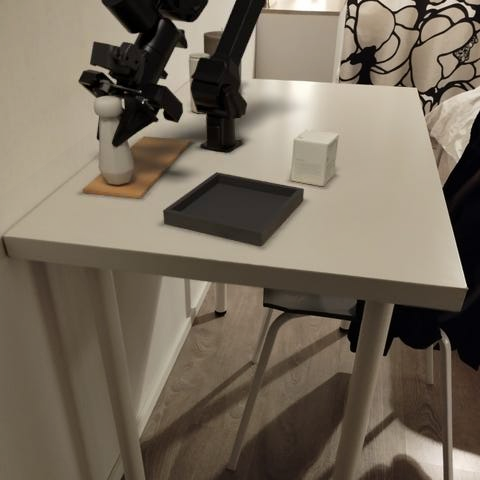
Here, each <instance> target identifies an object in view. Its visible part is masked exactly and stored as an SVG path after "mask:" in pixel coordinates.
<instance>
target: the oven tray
mask: <svg viewBox="0 0 480 480" xmlns="http://www.w3.org/2000/svg"><path fill="white" fill-rule="evenodd" d="M304 193H305V188H302V187H297V186H292V185H286V184H281V183H275V182H271V181H266V180H260V179H256V178H249V177H245V176H244V177H243V176H238V175H234V174H229V173H228V174H227V173H223V172H217V171H216V172H215V173H213V174H212V175H210V176H209V177H208V178H206V179H205V180H203V181H202V182H201V183H199V184H198V185H197V186H195V187H194V188H192V189H191V190H190V191H188V192H187V193H185V194H184V195H183V196H181V197H180V198H178V199H177V200H176V201H174V202H173V203H172V204H170V205H168V206H167V207H166V208H165V209H163V210H162V213H163V215H162V216H163V224H164V225H168V226H171V227H172V226H173V227H177V228H180V229H185V230H190V231H193V232H199V233H203V234H207V235H211V236H215V237H219V238H223V239H228V240H232V241H237V242H241V243H246V244H248V245H253V246H258V247H262V246H263V245H264V244H265V243H266V242H267V241H268V240H269V239H270V238H271V236H273V235H274V234H275V232H276V231H277V230H278V229H279V228H280V227H281V226H282V224H283V223H284V222H286V220H287V219H288V218H289V217H290V216H291V215H292V214H293V213H294V212H295V210H297V208H298V207H299V206H300V205H301V204H302V203H303V202H304V196H305V195H304Z"/></svg>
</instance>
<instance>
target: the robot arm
mask: <svg viewBox="0 0 480 480" xmlns="http://www.w3.org/2000/svg"><path fill="white" fill-rule="evenodd" d="M100 1H101V3H102V5H103V6H104V7H105V9H107V10H108V11H109V13H110V14H111V15H112V16H113V17H114V19H115V20H117V22H118V23H119V24H120V25H121V26H122V27H123V29H124V30H125V31H126V32H127V33H129V34H131V35H137V37H136V39H135V40H134V42H133V43H132V42H128V41H127V42H126V41H123V42H121V44H120V45H114V44H110V43H106V42H101V41H100V42H99V41H93V43H92V49H91V55H90V59H89V65H90V66H92V67H99V68H102V69H105V70H107V71H108V72H107V74H108V75H106V73H104V72H103V71H99V70H94V69H91V68H90V69H86V70H83V71H82V72H81V75H80V77H79V79H78V84H79V85H81V86H82V87H83V89H85V90H86V91H88V93H90V94H91V95H92V96H93V97H94V98H95V99H97V98H99V97H102V96H115V97H118V98H119V99H120V100H121V102H122V103H123V105H124V106H122V108H123V110H122V113H121V114H120V117H121V120H120V122H119V124H118V127H117V129H116V131H115V134H114V137H113V140H112V145H114V146H115V147H118V146H120V145H121V144H122V143H124V142H125V141H126V140H127V141H128V140H129V139H131V138H132V137H133V136H135V135H136V134H138V133H139V132H141V131H142V130H144V129H146V128H147V127H148V126H150V125H152V124H153V123H158V122H159V120H160V119H159V117H157V116H158V114H159V113H160V110H163V111H162V115H163V118H164V120H166V121H168V122H172V123H175V124H178V123H179V122H180V119H181V118H182V115H184V114H183V113H184V106H183V102H182V101H181V100H180V99H179V98H178V97H177V96H176V95H175V94H174V93H173V92H172V90H171V89H169V87H168V86H167V85H163V84H159V81H160V80H165V81H166V80H167V77H168V76H169V73H168V72H167V71H166V67H167V65H168V63H169V61H170V59H171V56H172V55H173V53H174V51H175V49H176V48H178V49H184V50H187V49H188V48H189V47H188V46H189V45H188V40H187V38H186V37H187V36H186V31H185V29H183V28H178V27H177V26H176V24H175V23H174V22H173V21H175V22H181V23H182V22H183V23H194V22H195V21H197V20H198V19H199V17H200V16H201V14H202V13H203V11H204V10H205V8H206V7H207V6H208V4H209V0H100ZM265 3H266V0H235V2H234V4H233V7H232V8H231V11H230V14H229V16H228V18H227V21H226V24H225V26H224V29H223V33H222V36H221V38H220V41H219V43H218V46H217V48H216V51H215V53H214V54H213V55H212V56H211V57H210V58H203V57H201V58H200V59H199V61H198V63H197V67H196V70H195V72H194V74H193V75H192V76H191V78H192V79H193V80H192V83H191V88H190V87H189V88H190V89H189V91H190V90H191V93H192V97H193V100H194V103H195V107H196V110H197V112H202V113H201V114H205V132H206V134H205V135H206V140H205V141H203V142H202V143H201V144H200V145H199V147H200V148H202V149H208V150H212V151H218V152H226V153H230V152H231V151H233V150H234V149H235V148H237V147H238V146H240V145H242V144H243V140H242V139H237V131H236V130H237V120H238V119H242V117H243V116H246V112H247V108H248V102H247V101H246V99H245V98H244V97H243V95H242V94H241V93H239V87H240V84H241V85H242V81H241V82H240V74H239V64H240V62H241V63H242V61H241V59H242V60H243V58H244V55H245V52H246V50H247V48H248V44H249V42H250V40H251V38H252V35H253V32H254V30H255V28H256V25H257V23H258V20H259V17H260V15H261V13H262V10H263V8H264V5H265ZM109 76H110V78H109ZM111 79H113V80H115V81H116V82H114V81H113V80H111ZM97 121H98V123H97V128H96V129H97V131H96V140H97V141H98V142H99V120H97Z"/></svg>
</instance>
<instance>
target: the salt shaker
mask: <svg viewBox="0 0 480 480" xmlns="http://www.w3.org/2000/svg"><path fill="white" fill-rule="evenodd" d="M122 107H123V101H122V102H121V100H120V99H119V98H118V97H115V96H102V97H99V98H95V99H94V101H93V111H94V113H95V115H97V116H98V121H99V141H98V170H99V172H100V174H101V173H102V175H103V176H104V177H105V179H106V180H107V182H108V183H109V184H117V185H119V184H123V183H127V182H129V181H130V179H131V176H132V173H133V171H134V161H133V157H132V154H131V151H130V148H131V147H130V143H129V141H128V140H126V141H125V142H124V143H122V144H121V145H120V146H118V147H115V146H114V145H112V140H113V137H114V134H115V131H116V129H117V127H118V124H119V122H120V120H121V117H120V114H121V113H122V110H123V108H124V107H123V108H122Z"/></svg>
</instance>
